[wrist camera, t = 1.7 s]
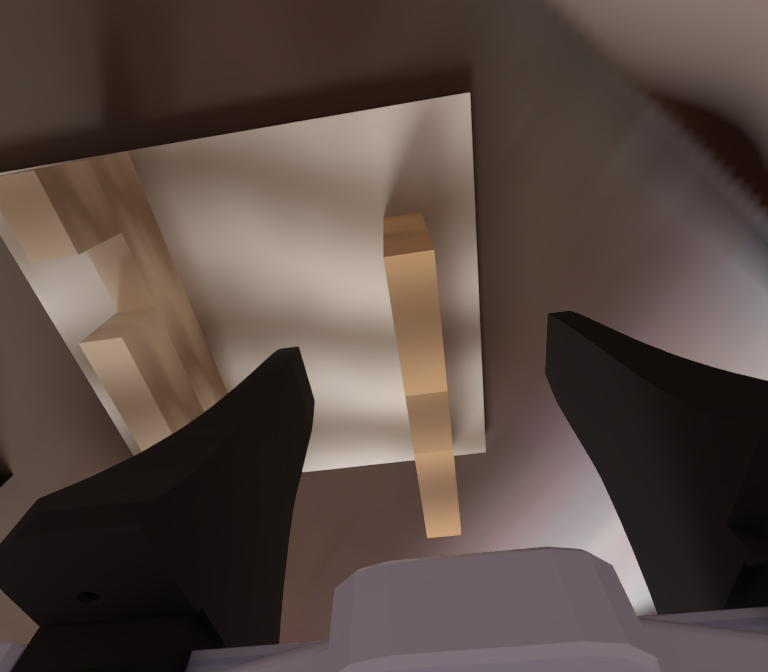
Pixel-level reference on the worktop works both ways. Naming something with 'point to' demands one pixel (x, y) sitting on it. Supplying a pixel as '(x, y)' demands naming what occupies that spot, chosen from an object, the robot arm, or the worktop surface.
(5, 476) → the protein powder
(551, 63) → the worktop surface
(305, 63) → the worktop surface
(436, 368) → the wooden block
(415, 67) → the worktop surface
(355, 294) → the halving base
